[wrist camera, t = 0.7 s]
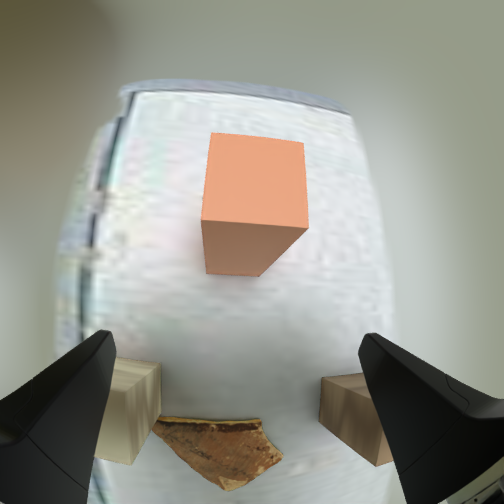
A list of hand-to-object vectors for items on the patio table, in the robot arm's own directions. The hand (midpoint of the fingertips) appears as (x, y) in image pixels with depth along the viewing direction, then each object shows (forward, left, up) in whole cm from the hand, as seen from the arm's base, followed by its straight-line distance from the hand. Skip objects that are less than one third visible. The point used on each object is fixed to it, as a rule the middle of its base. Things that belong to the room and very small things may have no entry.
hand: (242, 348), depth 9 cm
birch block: (-9, +3, -14) cm, 16 cm away
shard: (-10, -6, -14) cm, 18 cm away
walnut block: (+1, -12, -14) cm, 18 cm away
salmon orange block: (+6, +4, -14) cm, 15 cm away
